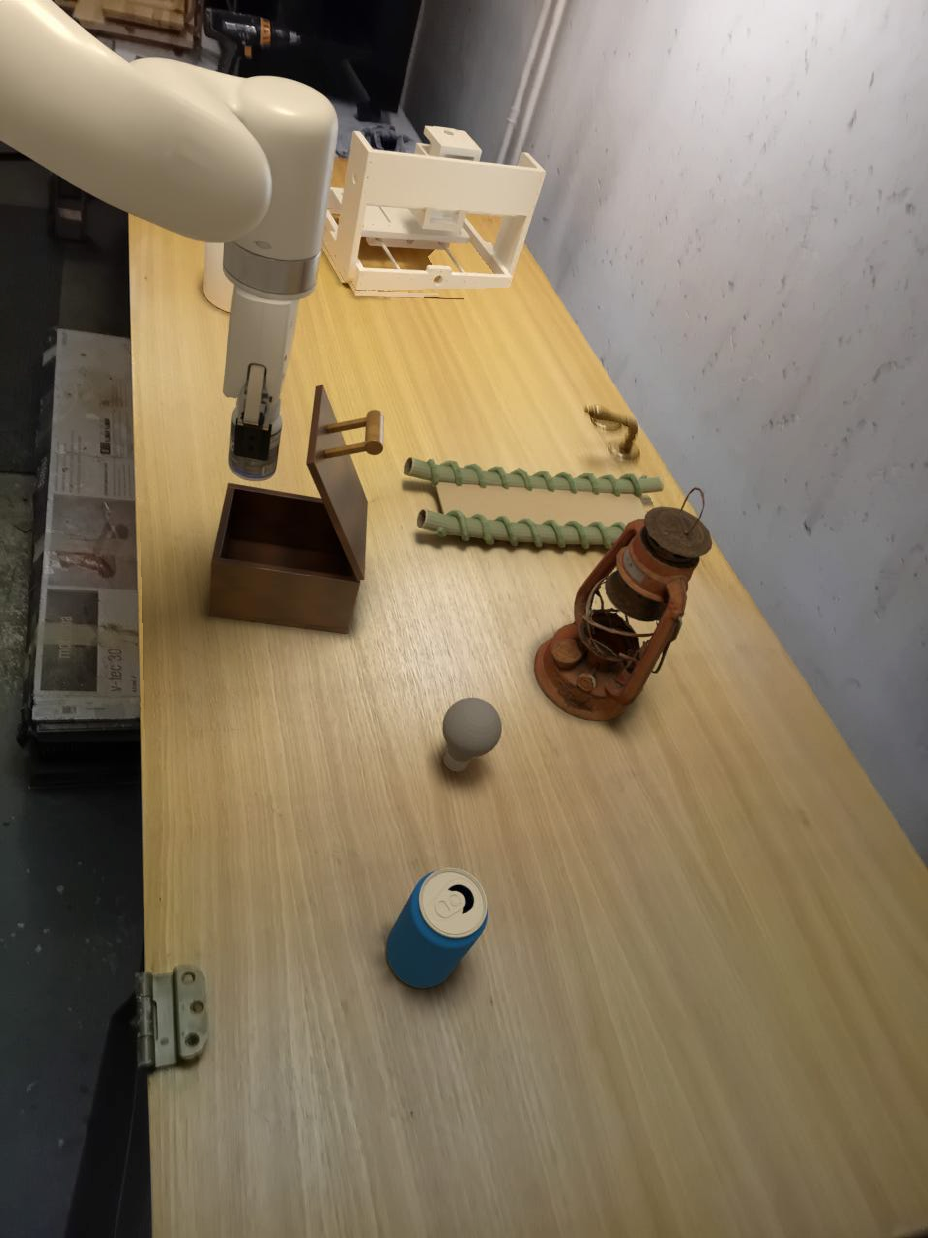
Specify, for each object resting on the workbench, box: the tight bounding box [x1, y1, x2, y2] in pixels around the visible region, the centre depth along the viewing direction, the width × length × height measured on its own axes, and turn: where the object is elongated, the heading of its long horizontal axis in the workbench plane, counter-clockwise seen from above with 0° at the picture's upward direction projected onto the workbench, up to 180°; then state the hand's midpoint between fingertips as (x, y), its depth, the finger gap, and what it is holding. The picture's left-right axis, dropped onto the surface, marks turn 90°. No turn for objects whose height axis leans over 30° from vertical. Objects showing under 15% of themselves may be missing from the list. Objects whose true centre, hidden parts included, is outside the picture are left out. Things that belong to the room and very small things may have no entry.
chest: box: [207, 482, 361, 635], centre depth 94 cm, size 16×13×9 cm
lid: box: [305, 384, 385, 582], centre depth 86 cm, size 16×13×7 cm
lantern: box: [533, 486, 713, 722], centre depth 89 cm, size 17×13×30 cm
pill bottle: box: [227, 386, 283, 482], centre depth 79 cm, size 5×5×8 cm
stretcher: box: [403, 456, 665, 550], centre depth 116 cm, size 41×14×5 cm, turn 102°
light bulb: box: [441, 697, 503, 772], centre depth 84 cm, size 6×6×10 cm
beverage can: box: [385, 867, 489, 989], centre depth 69 cm, size 6×6×12 cm
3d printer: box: [322, 125, 547, 299], centre depth 151 cm, size 35×32×25 cm
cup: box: [202, 242, 234, 313], centre depth 130 cm, size 12×12×12 cm
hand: (254, 436), depth 79 cm, fingers closed on pill bottle, 4 cm apart
